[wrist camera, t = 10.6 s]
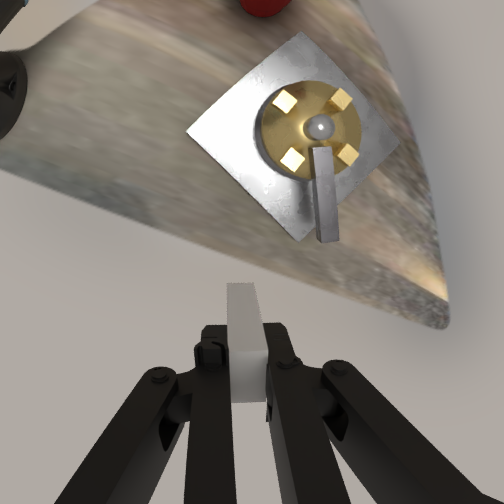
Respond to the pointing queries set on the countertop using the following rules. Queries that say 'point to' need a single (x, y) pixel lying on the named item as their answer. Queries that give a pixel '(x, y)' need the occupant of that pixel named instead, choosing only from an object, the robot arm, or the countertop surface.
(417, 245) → the countertop surface
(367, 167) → the flange plate
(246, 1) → the plastic cup
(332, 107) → the brass dial with lever
